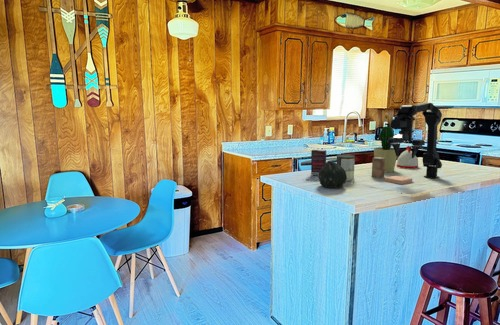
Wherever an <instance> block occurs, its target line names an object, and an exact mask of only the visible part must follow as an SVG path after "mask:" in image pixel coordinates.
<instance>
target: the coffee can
mask: <svg viewBox="0 0 500 325" xmlns="http://www.w3.org/2000/svg"><path fill="white" fill-rule="evenodd" d="M355 159H356V156H355V155H352V154H336V164H338V165H340V166H341V167H342V168H343V169H344V170H345V172H346V176H347V179H346V181H345V182H349V180H353V179H355Z"/></svg>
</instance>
